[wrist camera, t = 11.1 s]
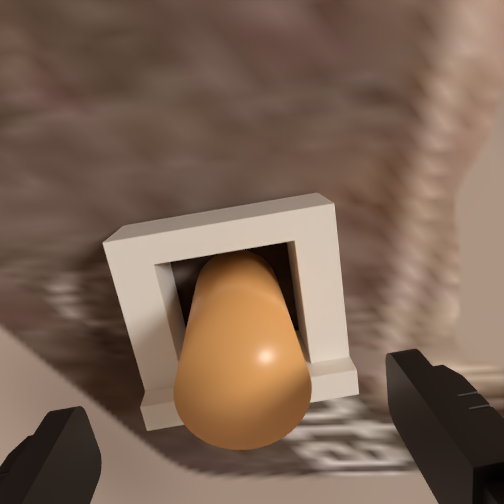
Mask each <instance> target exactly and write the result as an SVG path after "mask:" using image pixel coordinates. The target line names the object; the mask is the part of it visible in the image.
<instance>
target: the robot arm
mask: <svg viewBox="0 0 504 504" xmlns="http://www.w3.org/2000/svg"><path fill="white" fill-rule="evenodd" d="M386 376H387V393H388V405H389V410H390V414H391V417H392V420H393V423H394V425H395V427H396V429H397V431H398V432H399V434H400V436H401V438H402V440H403V441H404V443H405V445H406V447H407V448H408V450H409V452H410V454H411V455H412V457H413V459H414V461H415V463H416V464H417V466H418V468H419V470H420V471H421V473H422V475H423V477H424V478H425V480H426V482H427V484H428V486H429V487H430V489H431V491H432V493H433V494H434V496H435V498H436V500H437V502H438V503H439V504H504V418H503V417H502V416H501V415H500V414H499V413H498V412H497V411H496V410H495V409H494V408H493V407H490V405H489V403H488V402H487V401H486V400H485V399H484V398H483V396H482V395H481V394H478V393H477V390H476V389H475V388H474V387H473V386H472V385H471V384H470V383H469V382H468V381H467V380H466V379H465V378H464V377H463V376H462V375H460V374H459V373H457V372H455V371H453V370H451V369H450V368H448V367H446V366H444V365H438V366H432V365H431V364H430V363H429V361H428V360H427V359H426V358H425V357H424V356H423V355H422V353H421V352H420V351H419V350H417V349H410V350H405V351H399V352H393V353H388V354H387V355H386ZM100 473H101V453H100V450H99V447H98V444H97V442H96V439H95V436H94V433H93V430H92V428H91V425H90V422H89V419H88V416H87V414H86V412H85V410H84V408H83V407H81V406H78V407H72V408H66V409H60V410H55V411H50V412H49V413H48V414H47V415H46V416H45V417H44V419H43V421H42V422H41V424H40V425H39V427H38V428H37V430H36V431H35V433H34V434H33V435H31V436H28V437H27V438H26V439H25V440H24V441H22V442H21V443H20V444H19V445H18V446H17V447H16V448H15V449H14V450H13V451H12V452H11V453H9V455H8V456H7V457H6V459H5V460H4V462H3V463H2V465H1V466H0V504H90V502H91V499H92V497H93V494H94V491H95V488H96V486H97V483H98V481H99V477H100Z"/></svg>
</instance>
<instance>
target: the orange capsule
mask: <svg viewBox="0 0 504 504" xmlns="http://www.w3.org/2000/svg"><path fill="white" fill-rule="evenodd" d="M311 394H312V383H311V377H310V373H309V370H308V368H307V365H306V362H305V359H304V356H303V353H302V350H301V347H300V344H299V341H298V339H297V336H296V333H295V330H294V327H293V324H292V321H291V318H290V315H289V312H288V309H287V307H286V304H285V301H284V298H283V295H282V292H281V289H280V286H279V283H278V280H277V277H276V275H275V272H274V270H273V269H272V267H271V266H270V264H269V263H268V262H267V261H266V260H265V259H263V258H262V257H261V256H259V255H257V254H255V253H252V252H249V251H245V250H236V251H230V252H224V253H220V254H218V255H216V256H214V257H213V258H211V259H210V260H209V261H208V262H207V263H206V264H205V265H204V266H203V268H202V270H201V271H200V273H199V276H198V279H197V283H196V287H195V292H194V296H193V301H192V305H191V310H190V314H189V319H188V324H187V328H186V333H185V337H184V342H183V346H182V351H181V355H180V360H179V364H178V369H177V374H176V378H175V383H174V403H175V407H176V410H177V413H178V415H179V417H180V419H181V420H182V422H183V423H184V425H185V426H186V427H187V428H188V429H189V430H190V431H191V432H192V433H193V434H194V435H196V436H197V437H198V438H200V439H202V440H203V441H205V442H207V443H209V444H211V445H214V446H217V447H221V448H226V449H233V450H248V449H255V448H259V447H263V446H266V445H269V444H272V443H274V442H276V441H278V440H280V439H281V438H283V437H284V436H286V435H287V434H288V433H290V432H291V431H292V430H293V429H294V428H295V427H296V426H297V425H298V424H299V423H300V421H301V420H302V419H303V417H304V415H305V413H306V412H307V409H308V407H309V404H310V400H311Z"/></svg>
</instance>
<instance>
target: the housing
mask: <svg viewBox="0 0 504 504" xmlns="http://www.w3.org/2000/svg"><path fill="white" fill-rule="evenodd" d="M283 242H287V248H288V255H289V262H290V269H291V277H292V284H293V291H294V298H295V305H296V312H297V320H298V327H299V330H296V331H295V333H296V336H297V339H298V341H299V344H300V347H301V350H302V353H303V356H304V359H305V362H306V365H307V368H308V370H309V373H310V377H311V383H312V394H311V400H310V402H316V401H322V400H328V399H333V398H339V397H345V396H351V395H356V394H359V390H358V379H357V369H356V368H355V366H354V364H353V362H352V360H351V358H350V357H349V348H348V338H347V328H346V317H345V307H344V297H343V287H342V277H341V267H340V257H339V247H338V236H337V226H336V216H335V206H334V203H333V202H331V201H330V200H328V199H327V198H325V197H323V196H322V195H320V194H319V193H312V194H306V195H300V196H294V197H288V198H283V199H277V200H271V201H265V202H259V203H253V204H247V205H241V206H236V207H230V208H224V209H218V210H212V211H206V212H200V213H194V214H189V215H183V216H177V217H171V218H165V219H159V220H153V221H147V222H142V223H136V224H130V225H124V226H122V227H121V228H120V229H119V230H117V231H116V232H115V233H114V234H113V235H111V236H110V237H109V238H108V239H106V240H105V241H104V242H103V246H104V250H105V253H106V257H107V260H108V264H109V267H110V271H111V274H112V278H113V281H114V285H115V288H116V291H117V295H118V298H119V302H120V305H121V309H122V312H123V316H124V319H125V323H126V326H127V330H128V333H129V337H130V340H131V344H132V347H133V351H134V354H135V358H136V361H137V365H138V368H139V372H140V375H141V379H142V382H143V386H144V389H145V394H144V397H143V400H142V403H141V406H140V409H141V412H142V415H143V419H144V422H145V425H146V429H147V431H150V430H156V429H161V428H167V427H173V426H179V425H184V423H183V422H182V420H181V419H180V417H179V415H178V413H177V410H176V407H175V403H174V383H175V378H176V374H177V369H178V364H179V360H180V355H181V351H182V346H183V342H184V337H185V333H186V327H185V322H184V318H183V314H182V310H181V306H180V301H179V297H178V293H177V289H176V284H175V280H174V276H173V272H172V268H171V263H170V262H172V261H178V260H183V259H189V258H195V257H201V256H207V255H213V254H218V253H224V252H230V251H236V250H242V249H248V248H254V247H259V246H265V245H271V244H277V243H283Z"/></svg>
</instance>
